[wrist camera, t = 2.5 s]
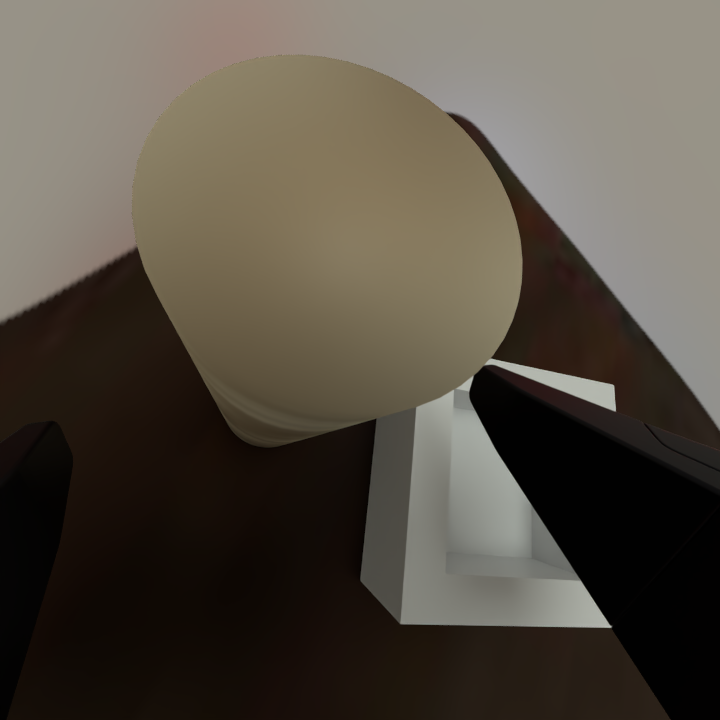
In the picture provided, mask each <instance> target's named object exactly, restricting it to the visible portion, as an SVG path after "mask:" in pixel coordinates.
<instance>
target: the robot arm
mask: <svg viewBox="0 0 720 720" xmlns="http://www.w3.org/2000/svg"><path fill="white" fill-rule="evenodd" d="M469 399H470V402H471V404H472V406H473V408H474V409H475V411H476V413H477V415H478V417H479V419H480V421H481V423H482V425H483V427H484V429H485V431H486V433H487V435H488V436H489V438H490V440H491V442H492V444H493V446H494V448H495V449H496V451H497V453H498V454H499V456H500V458H501V459H502V461H503V462H504V464H505V465H506V467H507V468H508V470H509V471H510V473H511V474H512V476H513V478H514V479H515V481H516V482H517V484H518V485H519V487H520V488H521V490H522V491H523V493H524V494H525V496H526V498H527V499H528V501H529V502H530V504H531V505H532V507H533V508H534V510H535V511H536V513H537V514H538V516H539V517H540V519H541V521H542V522H543V524H544V525H545V527H546V528H547V530H548V531H549V533H550V534H551V536H552V537H553V539H554V541H555V542H556V544H557V545H558V547H559V548H560V550H561V551H562V553H563V554H564V556H565V557H566V559H567V560H568V562H569V564H570V565H571V567H572V568H573V570H574V571H575V573H576V574H577V576H578V577H579V579H580V580H581V582H582V583H583V585H584V587H585V588H586V590H587V591H588V593H589V594H590V596H591V597H592V599H593V600H594V602H595V603H596V605H597V607H598V608H599V610H600V611H601V613H602V614H603V616H604V617H605V619H606V620H607V622H608V623H609V625H610V626H611V628H612V630H613V632H614V633H615V635H616V636H617V638H618V639H619V641H620V642H621V644H622V645H623V647H624V648H625V650H626V652H627V653H628V655H629V656H630V658H631V659H632V661H633V662H634V664H635V665H636V667H637V668H638V670H639V672H640V673H641V675H642V676H643V678H644V679H645V681H646V682H647V684H648V685H649V687H650V688H651V690H652V692H653V693H654V695H655V696H656V698H657V699H658V701H659V702H660V704H661V705H662V707H663V708H664V710H665V712H666V713H667V715H668V716H669V718H670V719H671V720H720V450H717V449H714V448H711V447H709V446H706V445H703V444H700V443H697V442H694V441H692V440H689V439H686V438H683V437H681V436H678V435H675V434H673V433H670V432H667V431H665V430H662V429H659V428H657V427H654V426H652V425H649V424H647V423H642V422H641V421H639V420H636V419H633V418H631V417H628V416H626V415H623V414H620V413H618V412H615V411H613V410H610V409H608V408H605V407H602V406H600V405H597V404H595V403H592V402H589V401H587V400H584V399H582V398H579V397H576V396H574V395H571V394H569V393H566V392H564V391H561V390H558V389H556V388H553V387H551V386H548V385H545V384H543V383H540V382H538V381H535V380H532V379H530V378H527V377H525V376H522V375H519V374H517V373H514V372H512V371H509V370H507V369H504V368H501V367H499V366H496V365H492V364H491V365H484V366H483V367H482V368H481V369H480V370H479V371H478V372H477V373H476V374H475V375H474V376H473V380H472V383H471V387H470V390H469ZM72 467H73V456H72V452H71V450H70V448H69V445H68V443H67V441H66V439H65V436H64V434H63V432H62V430H61V428H60V426H59V424H58V423H57V422H54V421H46V422H38V423H31V424H27V425H25V426H23V427H22V428H20V429H19V430H17V431H16V432H15V433H13V434H12V435H10V436H9V437H7V438H6V439H5V440H3V441H2V442H0V720H6V719H7V716H8V712H9V709H10V706H11V703H12V699H13V696H14V693H15V689H16V686H17V683H18V679H19V676H20V673H21V670H22V666H23V663H24V660H25V656H26V653H27V650H28V646H29V643H30V640H31V636H32V633H33V630H34V627H35V623H36V620H37V617H38V613H39V610H40V607H41V603H42V600H43V597H44V594H45V590H46V587H47V584H48V580H49V577H50V574H51V570H52V567H53V564H54V560H55V557H56V554H57V550H58V546H59V543H60V538H61V533H62V527H63V521H64V515H65V509H66V503H67V497H68V491H69V485H70V479H71V473H72Z"/></svg>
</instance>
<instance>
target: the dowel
mask: <svg viewBox="0 0 720 720" xmlns="http://www.w3.org/2000/svg"><path fill="white" fill-rule="evenodd" d="M132 194H133V195H132V216H133V224H134V230H135V238H136V243H137V246H138V249H139V253H140V256H141V259H142V262H143V266H144V269H145V271H146V273H147V275H148V277H149V279H150V281H151V283H152V285H153V288H154V290H155V292H156V294H157V296H158V298H159V300H160V301H161V303H162V305H163V307H164V309H165V311H166V312H167V314H168V316H169V318H170V320H171V322H172V323H173V325H174V327H175V329H176V331H177V332H178V334H179V336H180V338H181V340H182V342H183V343H184V345H185V347H186V349H187V351H188V353H189V354H190V356H191V358H192V360H193V362H194V364H195V365H196V367H197V369H198V371H199V373H200V375H201V376H202V378H203V380H204V382H205V384H206V385H207V387H208V389H209V391H210V393H211V395H212V396H213V398H214V400H215V402H216V404H217V406H218V407H219V409H220V411H221V413H222V415H223V417H224V418H225V420H226V422H227V424H228V426H229V427H230V429H231V430H232V431H233V432H234V433H235V435H236V436H238V437H239V438H240V439H241V440H243V441H245V442H246V443H249V444H251V445H254V446H257V447H265V448H271V447H278V446H282V445H285V444H289V443H292V442H296V441H299V440H303V439H306V438H310V437H313V436H317V435H320V434H324V433H327V432H331V431H334V430H338V429H341V428H345V427H348V426H352V425H355V424H359V423H362V422H366V421H369V420H373V419H376V418H380V417H383V416H387V415H390V414H394V413H397V412H401V411H404V410H408V409H411V408H415V407H418V406H420V405H423V404H426V403H428V402H431V401H433V400H436V399H438V398H441V397H442V396H444V395H446V394H447V393H449V392H451V391H453V390H454V389H456V388H458V387H459V386H461V385H462V384H463V383H465V382H466V381H467V380H468V379H470V378H471V377H472V376H473V375H475V374H476V373H477V372H478V371H479V370H480V369H481V368H482V367H483V366H484V365H485V364H486V362H487V361H488V360H489V359H490V358H491V357H492V356H493V354H494V353H495V351H496V350H497V348H498V347H499V345H500V344H501V342H502V341H503V339H504V337H505V335H506V333H507V331H508V329H509V327H510V325H511V322H512V320H513V317H514V314H515V311H516V307H517V304H518V301H519V295H520V289H521V282H522V252H521V242H520V236H519V231H518V227H517V222H516V218H515V215H514V213H513V210H512V207H511V204H510V201H509V198H508V196H507V194H506V192H505V190H504V187H503V185H502V183H501V181H500V179H499V178H498V176H497V174H496V172H495V171H494V169H493V167H492V166H491V164H490V162H489V161H488V160H487V158H486V157H485V155H484V154H483V153H482V151H481V150H480V149H479V147H478V146H477V145H476V143H475V142H474V141H473V140H472V139H471V138H470V137H469V135H468V134H467V133H466V132H465V131H464V130H463V129H462V128H461V127H460V126H459V125H458V124H457V123H456V122H455V121H454V120H453V119H452V118H451V117H450V116H449V115H448V114H446V113H445V112H444V111H443V110H441V109H440V108H439V107H438V106H436V105H435V104H434V103H432V102H431V101H430V100H428V99H427V98H425V97H424V96H422V95H421V94H419V93H418V92H416V91H415V90H413V89H412V88H410V87H408V86H406V85H404V84H402V83H400V82H399V81H397V80H395V79H393V78H391V77H389V76H386V75H384V74H382V73H379V72H377V71H374V70H372V69H369V68H366V67H363V66H360V65H357V64H353V63H350V62H347V61H342V60H337V59H332V58H327V57H318V56H309V55H276V56H269V57H261V58H255V59H251V60H247V61H243V62H239V63H236V64H233V65H230V66H228V67H225V68H223V69H220V70H218V71H216V72H213V73H211V74H210V75H208V76H206V77H205V78H203V79H201V80H199V81H198V82H196V83H194V84H193V85H192V86H190V87H189V88H188V89H187V90H185V91H184V92H183V93H182V94H181V95H180V96H178V97H177V98H176V99H175V100H174V101H173V102H172V103H171V104H170V106H168V108H167V109H166V110H165V111H164V112H163V113H162V115H161V116H160V117H159V118H158V120H157V122H156V123H155V125H154V127H153V128H152V130H151V132H150V133H149V135H148V136H147V138H146V141H145V143H144V146H143V149H142V151H141V154H140V156H139V159H138V162H137V167H136V172H135V177H134V182H133V193H132Z"/></svg>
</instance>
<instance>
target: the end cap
mask: <svg viewBox="0 0 720 720" xmlns="http://www.w3.org/2000/svg"><path fill="white" fill-rule="evenodd" d="M491 364H492V365H496V366H499V367H501V368H504V369H507V370H509V371H512V372H514V373H517V374H519V375H522V376H525V377H527V378H530V379H532V380H535V381H538V382H540V383H543V384H545V385H548V386H551V387H553V388H556V389H558V390H561V391H564V392H566V393H569V394H571V395H574V396H576V397H579V398H582V399H584V400H587V401H589V402H592V403H595V404H597V405H600V406H602V407H605V408H608V409H610V410H613V411H615V412H616V407H615V394H614V385H611V384H606V383H601V382H597V381H592V380H587V379H583V378H578V377H573V376H569V375H564V374H559V373H555V372H550V371H545V370H541V369H536V368H531V367H527V366H522V365H517V364H512V363H508V362H503V361H498V360H494V359H489V360H488V361H487V362H486V364H485V365H491ZM473 376H474V375H473ZM473 376H472V377H471V378H470V379H468V380H467V381H466V382H465V383H463V384H462V385H461V386H459V387H458V388H456V389H454V390H453V391H451V392H449V393H447V394H446V395H444V396H442V397H441V398H438V399H436V400H433V401H431V402H428V403H426V404H423V405H420V406H418V407H415V408H411V409H408V410H404V411H401V412H397V413H394V414H390V415H387V416H383V417H380V418H377V421H376V431H375V441H374V450H373V460H372V470H371V480H370V489H369V499H368V509H367V519H366V528H365V538H364V548H363V558H362V567H361V577H360V581H361V582H362V583H363V584H364V585H365V586H366V587H367V588H368V590H369V591H370V592H371V593H372V594H373V595H374V596H375V597H376V598H377V599H378V600H379V601H380V603H381V604H382V605H383V606H384V607H385V608H386V609H387V610H388V611H389V612H390V613H391V614H392V616H393V617H394V618H395V619H396V620H397V621H398V622H399V623H400V624H423V625H484V626H545V627H606V628H611V626H610V625H609V623H608V622H607V620H606V619H605V617H604V616H603V614H602V613H601V611H600V610H599V608H598V607H597V605H596V603H595V602H594V600H593V599H592V597H591V596H590V594H589V593H588V591H587V590H586V588H585V587H584V585H583V583H582V582H581V580H580V579H579V577H578V576H577V574H576V573H575V571H574V570H573V568H572V567H571V565H570V564H569V562H568V560H567V559H566V557H565V556H564V554H563V553H562V551H561V550H560V548H559V547H558V545H557V544H556V542H555V541H554V539H553V537H552V536H551V534H550V533H549V531H548V530H547V528H546V527H545V525H544V524H543V522H542V521H541V519H540V517H539V516H538V514H537V513H536V511H535V510H534V508H533V507H532V505H531V504H530V502H529V501H528V499H527V498H526V496H525V494H524V493H523V491H522V490H521V488H520V487H519V485H518V484H517V482H516V481H515V479H514V478H513V476H512V474H511V473H510V471H509V470H508V468H507V467H506V465H505V464H504V462H503V461H502V459H501V458H500V456H499V454H498V453H497V451H496V449H495V448H494V446H493V444H492V442H491V440H490V438H489V436H488V435H487V433H486V431H485V429H484V427H483V425H482V423H481V421H480V419H479V417H478V415H477V413H476V411H475V409H474V408H473V406H472V404H471V402H470V399H469V390H470V387H471V383H472V380H473Z"/></svg>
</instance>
